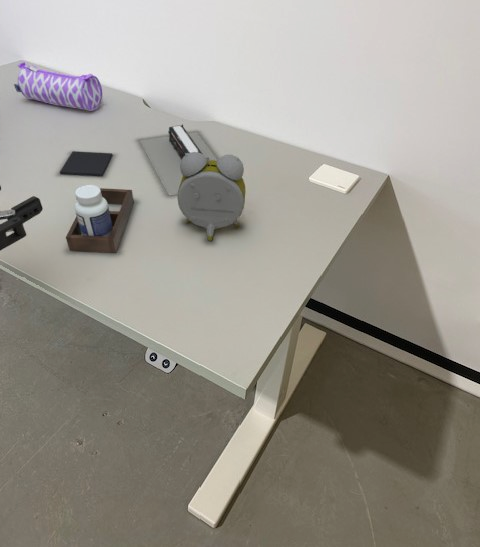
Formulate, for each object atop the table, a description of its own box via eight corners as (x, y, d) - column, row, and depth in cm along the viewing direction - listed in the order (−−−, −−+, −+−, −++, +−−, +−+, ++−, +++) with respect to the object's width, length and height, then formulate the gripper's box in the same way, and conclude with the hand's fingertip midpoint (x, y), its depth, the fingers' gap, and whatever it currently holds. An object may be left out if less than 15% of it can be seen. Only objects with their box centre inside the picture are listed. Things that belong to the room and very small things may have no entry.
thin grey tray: (196, 132, 106) (196, 116, 103) (234, 183, 90) (235, 165, 87) (140, 140, 102) (137, 123, 99) (169, 195, 86) (167, 177, 83)
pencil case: (18, 103, 113) (6, 66, 107) (40, 91, 120) (30, 55, 113) (90, 117, 109) (82, 80, 103) (109, 104, 116) (102, 68, 109)
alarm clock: (243, 221, 80) (248, 149, 70) (241, 244, 76) (246, 170, 65) (183, 217, 81) (179, 144, 70) (177, 239, 76) (171, 165, 65)
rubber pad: (60, 174, 89) (59, 171, 89) (73, 153, 96) (72, 151, 95) (102, 176, 90) (102, 174, 89) (112, 155, 96) (112, 153, 96)
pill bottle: (117, 228, 77) (108, 183, 70) (110, 247, 73) (99, 201, 66) (88, 227, 77) (76, 181, 70) (79, 246, 73) (65, 199, 66)
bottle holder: (69, 250, 72) (65, 237, 70) (93, 200, 83) (90, 187, 81) (116, 253, 72) (113, 239, 70) (133, 202, 83) (131, 189, 81)
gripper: (-85, 256, 42) (46, 184, 52) (-159, 208, 47) (-26, 152, 57) (-52, 306, 47) (61, 232, 57) (-122, 258, 52) (-6, 198, 62)
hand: (17, 192), depth 57 cm, fingers open, 8 cm apart
